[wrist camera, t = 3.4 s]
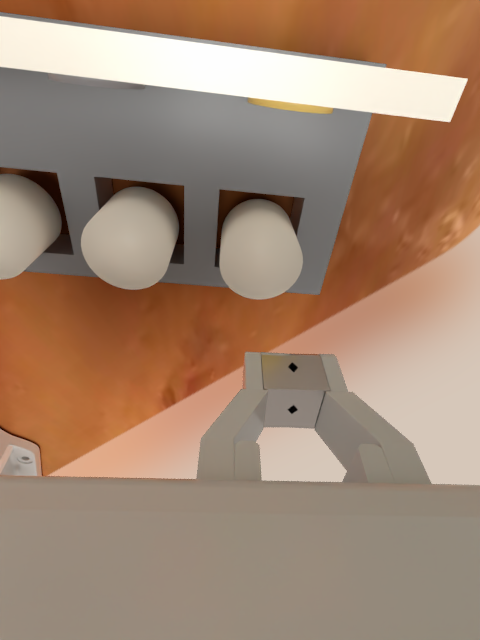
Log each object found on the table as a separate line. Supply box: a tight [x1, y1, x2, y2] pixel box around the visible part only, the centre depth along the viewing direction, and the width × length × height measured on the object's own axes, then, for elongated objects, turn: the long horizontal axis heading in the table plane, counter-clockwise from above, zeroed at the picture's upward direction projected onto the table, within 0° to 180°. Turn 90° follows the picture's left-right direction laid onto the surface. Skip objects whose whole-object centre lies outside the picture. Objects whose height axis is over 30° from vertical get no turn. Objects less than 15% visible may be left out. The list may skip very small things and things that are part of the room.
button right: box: [219, 199, 303, 299], centre depth 19 cm, size 4×4×4 cm
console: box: [0, 12, 468, 295], centre depth 16 cm, size 13×24×12 cm, turn 84°
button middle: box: [81, 187, 179, 290], centre depth 19 cm, size 4×4×4 cm
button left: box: [0, 174, 62, 279], centre depth 18 cm, size 4×4×4 cm
